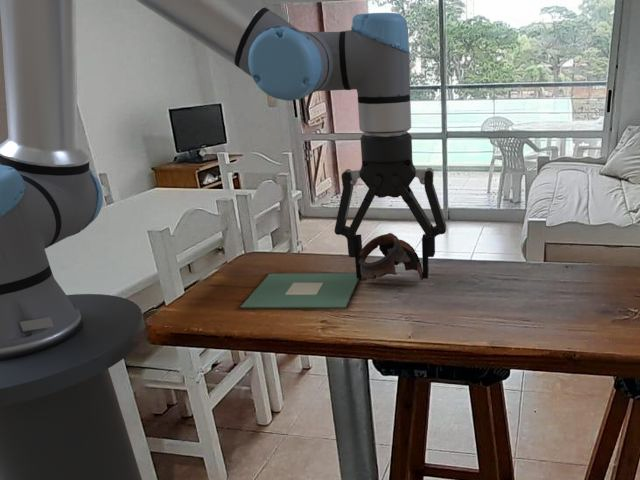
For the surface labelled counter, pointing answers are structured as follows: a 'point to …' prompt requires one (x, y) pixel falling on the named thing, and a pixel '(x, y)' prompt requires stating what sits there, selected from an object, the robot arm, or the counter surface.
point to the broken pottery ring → (388, 257)
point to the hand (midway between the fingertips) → (393, 275)
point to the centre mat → (303, 291)
